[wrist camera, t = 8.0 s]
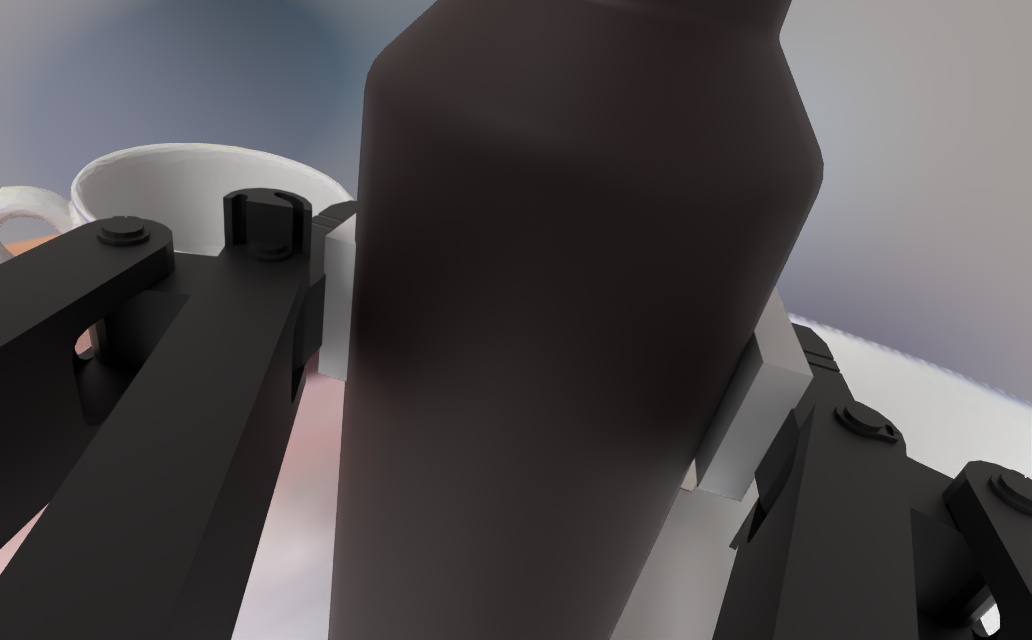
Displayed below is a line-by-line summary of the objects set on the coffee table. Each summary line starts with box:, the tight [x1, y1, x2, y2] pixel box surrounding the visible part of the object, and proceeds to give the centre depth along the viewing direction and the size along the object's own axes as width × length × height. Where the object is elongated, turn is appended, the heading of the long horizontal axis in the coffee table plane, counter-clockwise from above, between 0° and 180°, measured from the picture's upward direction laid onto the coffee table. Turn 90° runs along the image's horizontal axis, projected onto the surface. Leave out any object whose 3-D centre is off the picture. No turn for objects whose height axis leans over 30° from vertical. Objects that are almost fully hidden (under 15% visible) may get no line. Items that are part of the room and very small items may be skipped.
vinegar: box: [328, 0, 824, 640], centre depth 12 cm, size 7×7×20 cm
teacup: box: [0, 143, 354, 264], centre depth 26 cm, size 14×11×8 cm
